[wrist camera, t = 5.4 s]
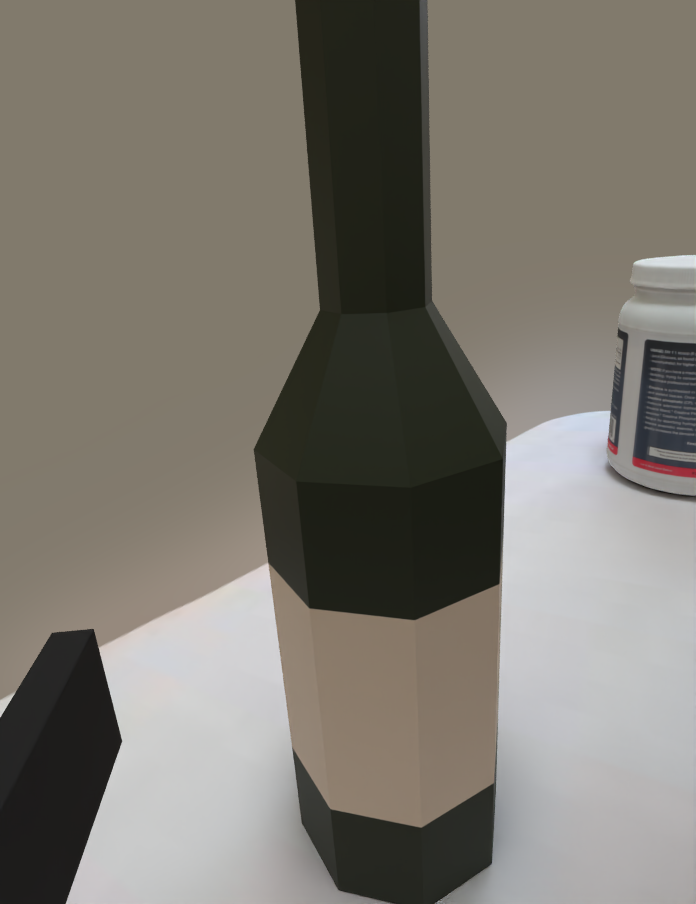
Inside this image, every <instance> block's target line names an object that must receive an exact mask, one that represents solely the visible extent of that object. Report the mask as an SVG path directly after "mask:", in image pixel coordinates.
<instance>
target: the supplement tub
mask: <svg viewBox="0 0 696 904" xmlns="http://www.w3.org/2000/svg"><path fill="white" fill-rule="evenodd" d="M630 283H631V284H634V287H635V295H634V296H633V297H632V298H631V299H629V300H628V301H627V302H626V303H625V304H624V306H623V308H622V309H621V312H620V315H619V320H618V323H619V325H618V337H617V348H616V359H615V370H614V371H615V372H614V382H613V393H612V403H611V414H610V425H609V435H608V446H607V450H606V451H607V457H608V460H609V462H610V464H611V466H612V467H613V468H614V469H615V470H616V471H617V472H618V473H619V474H621V475H622V476H623V477H625V478H627V479H629V480H631V481H633V482H635V483H637V484H640V485H643V486H645V487H649V488H652V489H656V490H660V491H664V492H669V493H674V494H681V495H691V496H696V255H688V256H687V255H686V256H672V257H659V258H650V259H643V260H639V261H636V262H635V263H634V264H633V271H632V277H631V279H630Z"/></svg>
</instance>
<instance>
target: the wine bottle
mask: <svg viewBox="0 0 696 904" xmlns="http://www.w3.org/2000/svg"><path fill="white" fill-rule="evenodd" d="M295 2H296V15H297V27H298V40H299V53H300V65H301V78H302V89H303V102H304V115H305V128H306V140H307V153H308V164H309V176H310V189H311V201H312V214H313V227H314V240H315V252H316V264H317V277H318V289H319V302H320V311H319V314H318V316H317V318H316V320H315V322H314V324H313V326H312V329H311V330H310V333H309V334H308V337H307V339H306V341H305V343H304V345H303V347H302V349H301V351H300V354H299V356H298V358H297V360H296V362H295V364H294V366H293V368H292V370H291V372H290V374H289V376H288V379H287V381H286V383H285V385H284V387H283V389H282V391H281V393H280V396H279V397H278V400H277V402H276V404H275V406H274V408H273V410H272V412H271V414H270V416H269V418H268V421H267V423H266V425H265V427H264V429H263V431H262V433H261V435H260V437H259V440H258V442H257V444H256V446H255V448H254V454H255V462H256V470H257V478H258V485H259V493H260V501H261V509H262V516H263V524H264V532H265V540H266V548H267V555H268V563H269V571H270V579H271V586H272V594H273V602H274V610H275V617H276V625H277V633H278V641H279V648H280V656H281V664H282V672H283V679H284V687H285V695H286V703H287V710H288V718H289V726H290V734H291V741H292V749H293V757H294V765H295V772H296V780H297V788H298V796H299V803H300V811H301V819H302V824H303V825H304V827H305V829H306V831H307V833H308V835H309V836H310V838H311V840H312V842H313V844H314V845H315V847H316V849H317V851H318V853H319V855H320V856H321V858H322V860H323V862H324V864H325V865H326V867H327V869H328V871H329V873H330V875H331V876H332V878H333V880H334V882H335V884H336V885H337V887H338V889H339V890H342V891H347V892H351V893H355V894H359V895H363V896H367V897H371V898H376V899H380V900H384V901H388V902H392V903H396V904H433V903H435V902H436V901H438V900H439V899H441V898H442V897H444V896H445V895H447V894H448V893H449V892H451V891H452V890H454V889H455V888H457V887H458V886H460V885H461V884H462V883H464V882H465V881H467V880H468V879H470V878H471V877H473V876H474V875H475V874H477V873H478V872H480V871H481V870H483V869H484V868H486V867H487V866H488V865H490V864H491V863H492V848H493V830H494V813H495V795H496V764H497V730H498V697H499V663H500V630H501V596H502V563H503V529H504V496H505V462H506V427H507V423H506V421H505V420H504V418H503V416H502V415H501V413H500V411H499V410H498V408H497V407H496V405H495V403H494V402H493V400H492V398H491V397H490V395H489V393H488V392H487V390H486V389H485V387H484V385H483V384H482V382H481V380H480V379H479V377H478V375H477V374H476V372H475V371H474V369H473V367H472V366H471V364H470V362H469V361H468V359H467V357H466V356H465V354H464V353H463V351H462V349H461V348H460V346H459V344H458V343H457V341H456V339H455V338H454V336H453V334H452V333H451V331H450V330H449V328H448V327H447V325H446V323H445V321H444V320H443V318H442V317H441V315H440V314H439V312H438V310H437V308H436V307H435V305H434V303H433V302H432V282H431V281H432V277H431V213H430V212H431V209H430V146H429V79H428V22H427V21H428V16H427V0H295Z"/></svg>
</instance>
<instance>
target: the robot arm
mask: <svg viewBox="0 0 696 904" xmlns="http://www.w3.org/2000/svg"><path fill="white" fill-rule="evenodd" d="M121 743H122V739H121V735H120V731H119V727H118V723H117V719H116V715H115V711H114V707H113V703H112V699H111V695H110V691H109V688H108V684H107V680H106V676H105V672H104V668H103V664H102V660H101V656H100V652H99V648H98V645H97V640H96V636H95V632H94V629H88V630H77V631H67V632H57V633H52V634H51V636H50V637H49V639H48V640H47V642H46V644H45V645H44V647H43V649H42V650H41V652H40V654H39V655H38V657H37V659H36V660H35V662H34V663H33V665H32V667H31V668H30V670H29V672H28V673H27V675H26V677H25V678H24V680H23V681H22V683H21V685H20V686H19V688H18V690H17V691H16V693H15V695H14V696H13V698H12V699H11V701H10V703H9V704H8V706H7V708H6V709H5V711H4V713H3V714H2V716H1V717H0V904H66V901H67V898H68V895H69V892H70V890H71V887H72V884H73V881H74V878H75V875H76V872H77V869H78V867H79V864H80V861H81V858H82V855H83V852H84V849H85V846H86V844H87V841H88V838H89V835H90V832H91V829H92V826H93V823H94V821H95V818H96V815H97V812H98V809H99V806H100V803H101V800H102V798H103V795H104V792H105V789H106V786H107V783H108V780H109V777H110V775H111V772H112V769H113V766H114V763H115V760H116V757H117V754H118V752H119V749H120V746H121Z"/></svg>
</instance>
